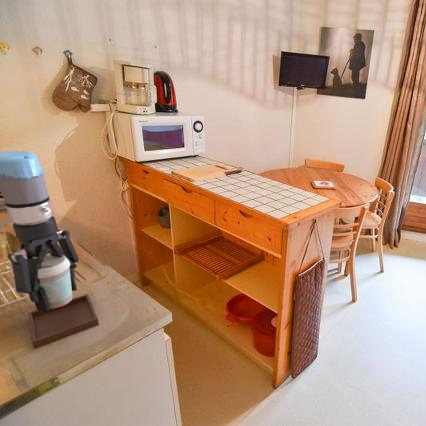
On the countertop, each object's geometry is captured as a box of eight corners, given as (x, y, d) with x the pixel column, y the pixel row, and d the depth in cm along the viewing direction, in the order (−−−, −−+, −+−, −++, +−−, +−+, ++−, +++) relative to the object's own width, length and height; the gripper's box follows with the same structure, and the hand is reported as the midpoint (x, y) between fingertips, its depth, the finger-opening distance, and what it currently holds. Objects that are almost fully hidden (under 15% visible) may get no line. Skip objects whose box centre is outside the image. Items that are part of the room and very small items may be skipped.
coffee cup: (29, 306, 80) (15, 265, 75) (65, 287, 87) (54, 249, 83) (51, 316, 77) (38, 275, 73) (86, 296, 85) (76, 258, 80)
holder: (30, 318, 85) (28, 312, 84) (89, 299, 94) (87, 293, 93) (34, 348, 76) (32, 342, 76) (99, 324, 85) (97, 318, 84)
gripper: (3, 241, 64) (34, 329, 72) (83, 205, 82) (101, 278, 91) (-31, 237, 64) (4, 325, 73) (57, 202, 83) (76, 275, 92)
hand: (58, 299), depth 82 cm, fingers closed on coffee cup, 8 cm apart
